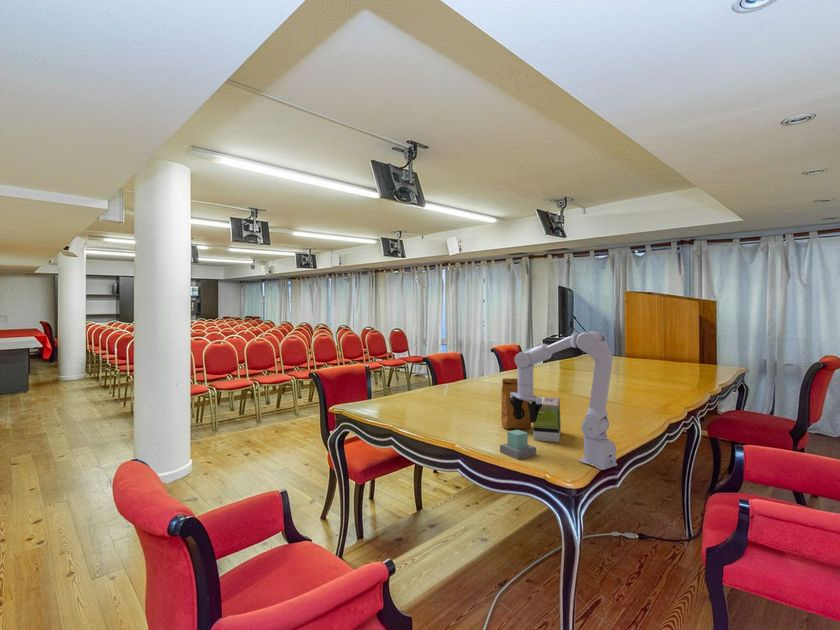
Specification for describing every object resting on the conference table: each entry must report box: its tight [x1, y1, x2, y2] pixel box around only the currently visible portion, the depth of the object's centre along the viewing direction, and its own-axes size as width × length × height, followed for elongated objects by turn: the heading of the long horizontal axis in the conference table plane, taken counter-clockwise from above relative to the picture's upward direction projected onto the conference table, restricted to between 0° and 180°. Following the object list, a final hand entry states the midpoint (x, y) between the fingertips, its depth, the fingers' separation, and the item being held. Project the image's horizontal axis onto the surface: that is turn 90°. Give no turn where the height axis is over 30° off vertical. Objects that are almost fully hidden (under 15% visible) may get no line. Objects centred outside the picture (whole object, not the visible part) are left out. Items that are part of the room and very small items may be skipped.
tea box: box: [532, 396, 562, 443], centre depth 168 cm, size 15×10×15 cm, turn 159°
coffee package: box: [500, 377, 532, 430], centre depth 181 cm, size 10×12×22 cm
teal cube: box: [506, 429, 529, 449], centre depth 148 cm, size 5×5×5 cm
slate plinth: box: [499, 442, 537, 460], centre depth 148 cm, size 9×9×3 cm
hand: (525, 419), depth 154 cm, fingers open, 7 cm apart
